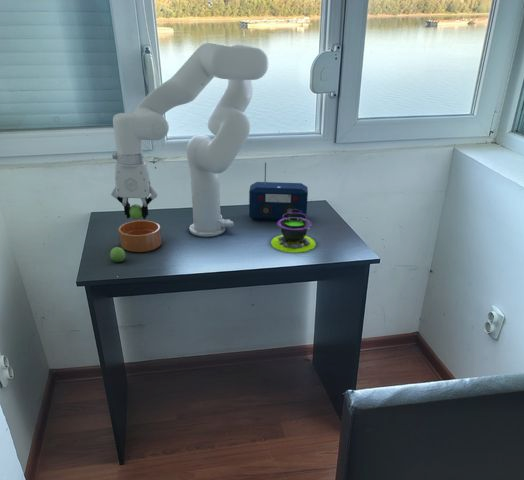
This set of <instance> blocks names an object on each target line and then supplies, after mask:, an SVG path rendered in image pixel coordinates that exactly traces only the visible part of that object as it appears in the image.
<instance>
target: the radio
mask: <svg viewBox="0 0 524 480" xmlns="http://www.w3.org/2000/svg"><path fill="white" fill-rule="evenodd" d="M248 191H249V193H248V196H249V197H248V203H249V204H248V205H249V206H248V208H249V209H248V210H249V211H248V217H249V218H250V219H252V220H253V221H259V222H263V221H264V222H279V221H280V220H282V219H283V218H285V219H286V218H287V217H288V218H289V217H290V218H292V217H294V218H296V217H299V218H301V219H305V218H306V216H307V212H308V211H307V210H308V199H309V198H308V196H309V189H308V186H307V185H305V184H303V183H301V182H279V181H277V182H276V181H267V162H264V181H255V182H254V183H252V184H250V186H249V190H248ZM293 209H294V210H293ZM295 209H296V210H295ZM289 211H290V212H292V214H291V213H290V212H289ZM301 211H302V213H301ZM296 212H297V213H296ZM299 213H300V214H299ZM284 214H285V215H284ZM304 214H305V215H304ZM283 215H284V216H283ZM289 215H290V216H289ZM306 219H307V218H306ZM306 219H305V220H306ZM283 220H284V219H283Z"/></svg>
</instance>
